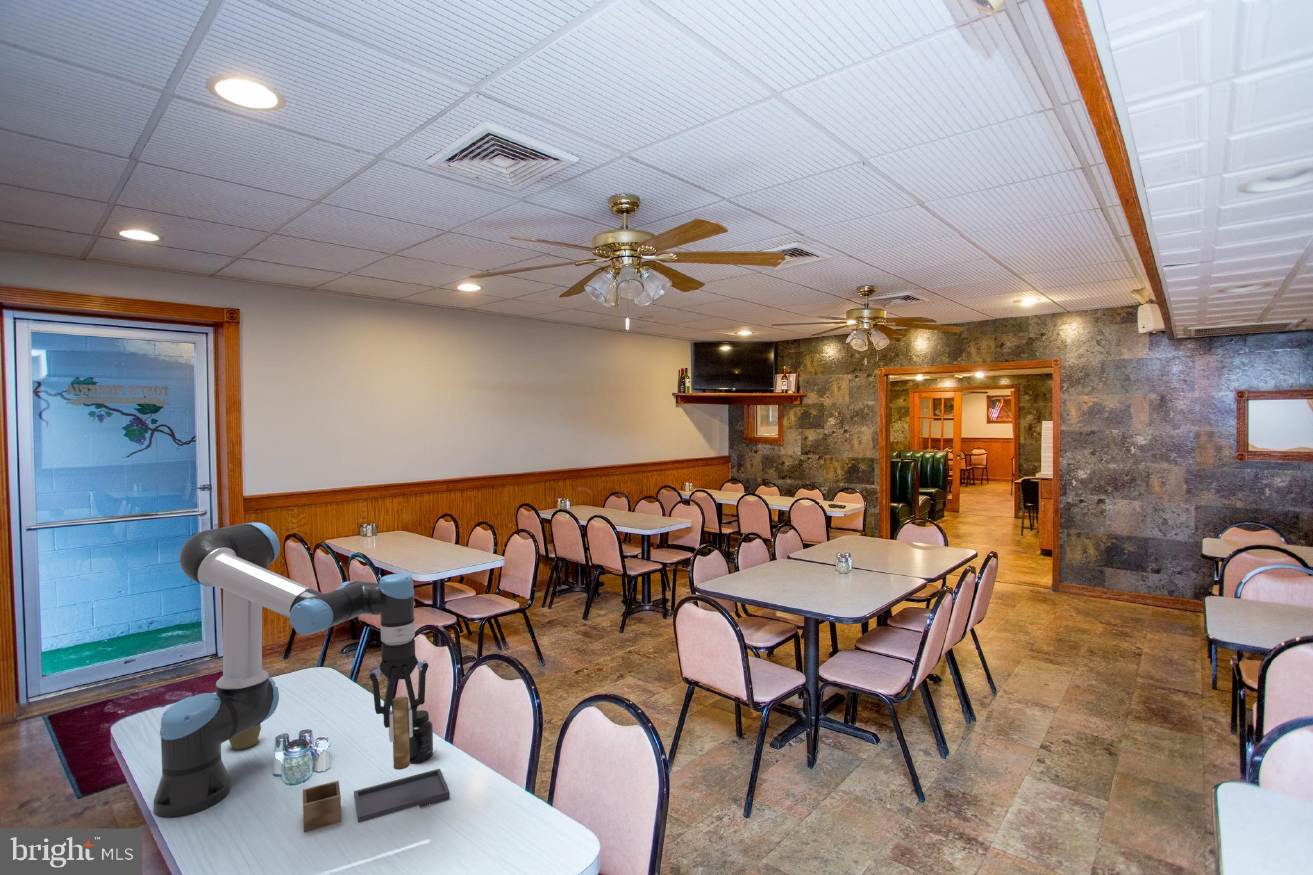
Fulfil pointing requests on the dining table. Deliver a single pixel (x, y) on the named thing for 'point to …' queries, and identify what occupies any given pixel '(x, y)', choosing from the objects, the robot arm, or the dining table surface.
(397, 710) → the dowel
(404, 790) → the tray
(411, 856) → the dining table surface
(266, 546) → the robot arm
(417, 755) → the supplement bottle
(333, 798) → the box
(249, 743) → the squeeze bottle
